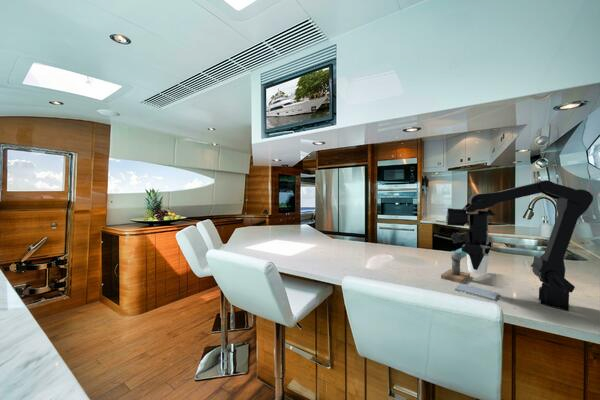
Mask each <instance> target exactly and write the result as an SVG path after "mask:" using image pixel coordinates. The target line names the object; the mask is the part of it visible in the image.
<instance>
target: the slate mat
mask: <svg viewBox="0 0 600 400" xmlns="http://www.w3.org/2000/svg"><path fill="white" fill-rule="evenodd" d="M454 291H458V292H460V291H462V292H461V293H464V292H466V293H465V294H468V293H471V294H473V295H472V296H475V295H476V296H475V297H479V298H483V299H487V300H490V301H494V302H495V301H496V300H497V298H498V296H499V292H497V291H492V290H490V289H489V290H488V289H485V288H482V287H476V286H473V285H469V284H465V283H459V284H458V286H456V287H455V288H454ZM471 294H470V295H471Z"/></svg>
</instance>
